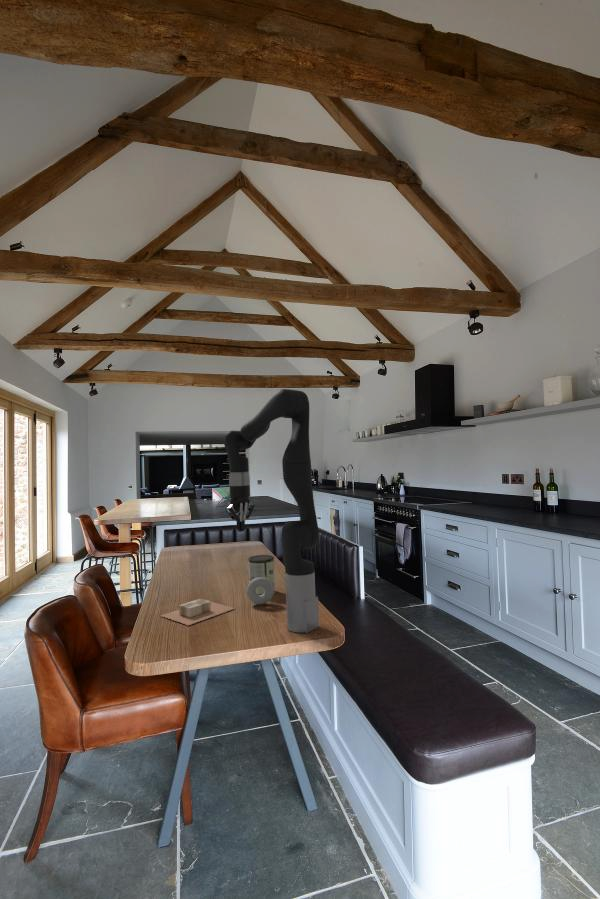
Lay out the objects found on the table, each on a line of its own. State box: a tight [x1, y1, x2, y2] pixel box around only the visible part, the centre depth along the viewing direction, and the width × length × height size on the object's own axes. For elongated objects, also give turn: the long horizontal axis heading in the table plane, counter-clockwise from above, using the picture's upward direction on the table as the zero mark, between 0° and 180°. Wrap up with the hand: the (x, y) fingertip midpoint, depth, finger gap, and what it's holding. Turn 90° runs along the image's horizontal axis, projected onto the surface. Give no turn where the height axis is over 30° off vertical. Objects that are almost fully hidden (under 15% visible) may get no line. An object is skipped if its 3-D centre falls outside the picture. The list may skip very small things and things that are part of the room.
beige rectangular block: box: [178, 598, 212, 618], centre depth 155 cm, size 6×3×9 cm
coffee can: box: [247, 554, 276, 595], centre depth 178 cm, size 10×10×14 cm
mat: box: [160, 601, 236, 627], centre depth 156 cm, size 16×20×1 cm
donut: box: [246, 577, 274, 605], centre depth 163 cm, size 10×3×10 cm, turn 98°
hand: (241, 531), depth 164 cm, fingers closed
